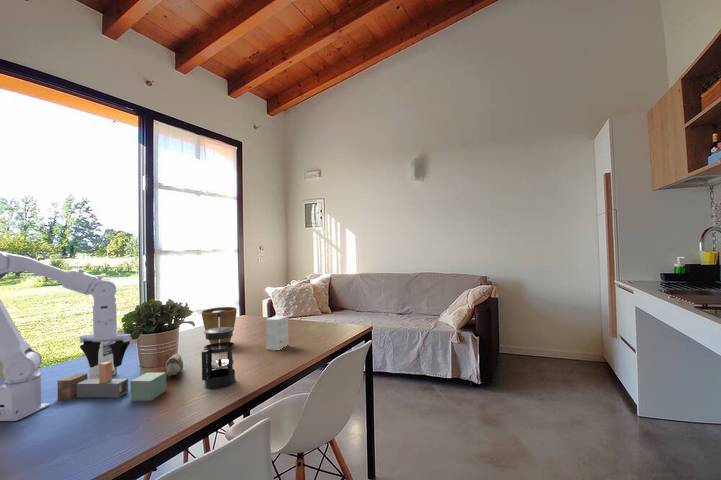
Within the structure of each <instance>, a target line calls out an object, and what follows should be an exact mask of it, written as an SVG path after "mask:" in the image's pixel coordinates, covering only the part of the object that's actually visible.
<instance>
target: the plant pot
mask: <svg viewBox="0 0 721 480" xmlns="http://www.w3.org/2000/svg"><path fill="white" fill-rule="evenodd" d="M217 310H224V311H226V312H223V313H221V314H220V327H232V328H234V329H235V325H236V320H237V311H238V309H237V307H234V306H221V307H211V308H208V309H204V310H201V312H200V313H201V319H202V323H203V326H204V329H205V330H208V329H212V328H218V327H219V326H218V317H217V313H212V312H213V311H217ZM205 330H204V331H205ZM231 341H232V337H229V338H226V339H220V342H231ZM208 342H209V344H212V343H217V342H219V340H208ZM217 348H219V346H218V347H217ZM220 348H222V347H221V346H220Z"/></svg>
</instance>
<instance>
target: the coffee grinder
mask: <svg viewBox="0 0 721 480" xmlns="http://www.w3.org/2000/svg"><path fill="white" fill-rule="evenodd" d="M223 312H226V311H224V310H217V311H213V312H212V313H217V317H218V326H219V327H218V328H212V329H208V330H204V331H203V334H205V340H208V341H209V340H219V342H217V343H212V344H210V343H209V344H206V345H205V346H204V347H203V348H204V349H203V350H202V351H201V380H202V382H203V381H204V384H203V386H204V388H205V389H210V390H218V389H224V388H228V387H230V386H232V385H234V384H235V383H236V381H237V379H236V370H235V369H234V367H233V365H234V362H235V361H234V360H233V350H234V349H235V342H232V341H230V342H220V339H226V338H229V337H231V338H232V337H233V336H234V335H233V334H234V330H235V327H234V328H232V327H220V314H221V313H223ZM218 346H219V347H218ZM220 346H224V347H220ZM222 353H223V354H224V353H227V356H226V357H227V358H221V354H222ZM212 354H218V359H215V360H213V355H212Z"/></svg>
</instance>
